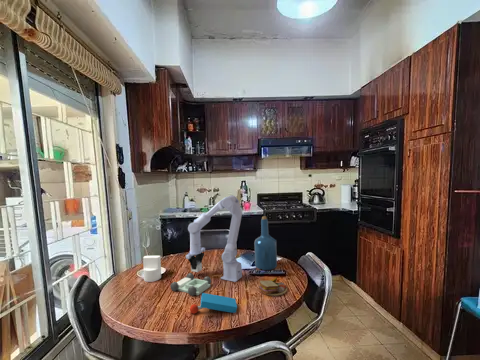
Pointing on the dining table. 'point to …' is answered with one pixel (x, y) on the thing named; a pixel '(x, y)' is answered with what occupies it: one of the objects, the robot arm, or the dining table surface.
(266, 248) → the wine bottle
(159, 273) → the cylinder with rectangular tab
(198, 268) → the grey boxy piece
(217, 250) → the dining table surface
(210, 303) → the lever
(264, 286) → the toy sandwich meal
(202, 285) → the chassis
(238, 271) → the robot arm
